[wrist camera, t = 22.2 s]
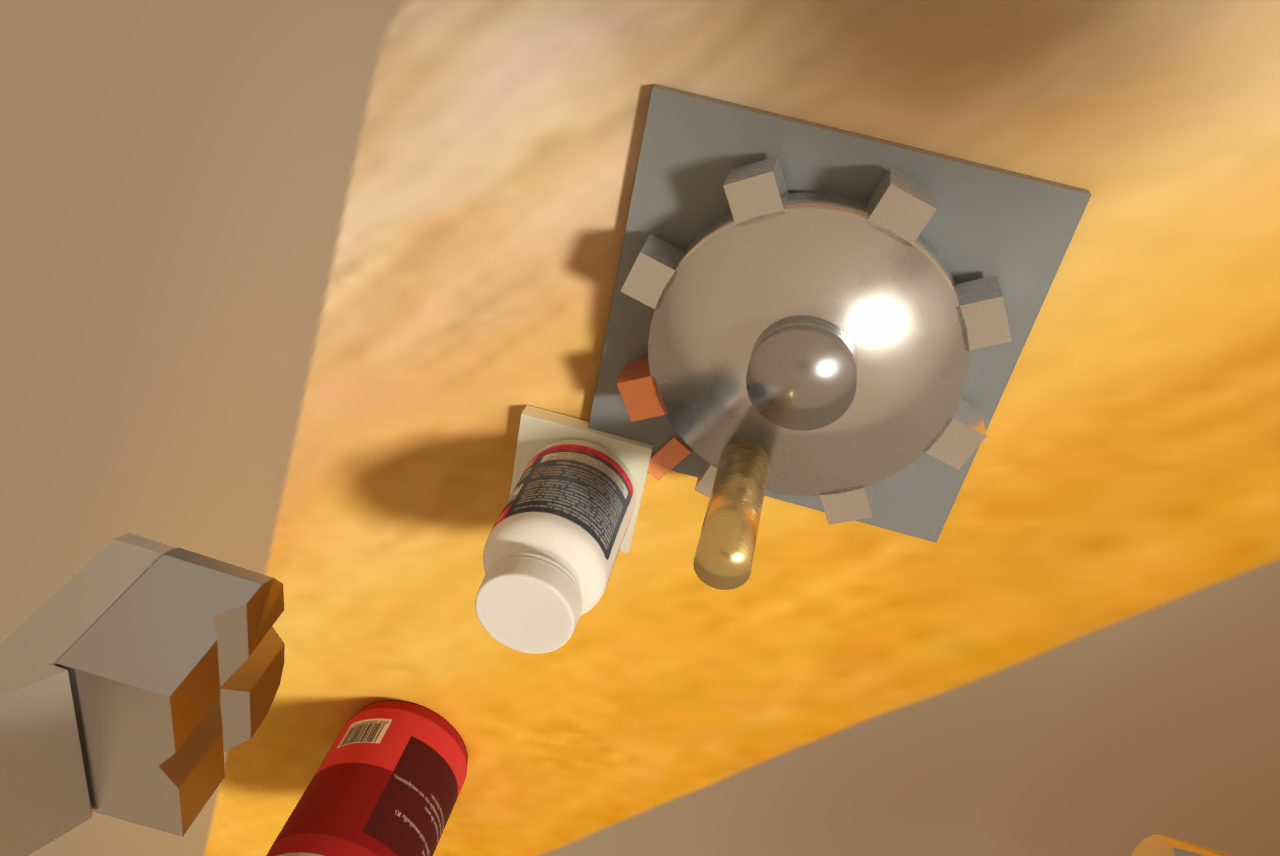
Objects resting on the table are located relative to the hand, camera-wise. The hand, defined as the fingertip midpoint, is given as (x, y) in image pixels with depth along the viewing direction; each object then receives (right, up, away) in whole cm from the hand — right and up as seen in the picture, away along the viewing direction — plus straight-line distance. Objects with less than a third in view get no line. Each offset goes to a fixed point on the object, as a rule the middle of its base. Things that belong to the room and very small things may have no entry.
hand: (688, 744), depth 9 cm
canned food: (-14, -15, +50) cm, 54 cm away
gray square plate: (+6, +7, +31) cm, 33 cm away
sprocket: (+6, +6, +30) cm, 32 cm away
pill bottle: (-3, 0, +37) cm, 37 cm away
